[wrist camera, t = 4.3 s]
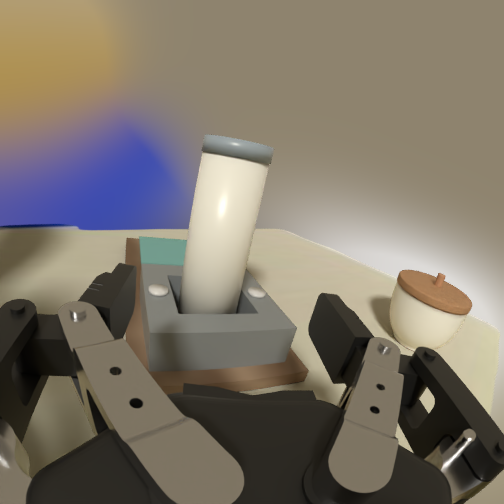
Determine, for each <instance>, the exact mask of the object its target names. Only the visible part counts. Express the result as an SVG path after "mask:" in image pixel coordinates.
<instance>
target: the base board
mask: <svg viewBox="0 0 504 504" xmlns="http://www.w3.org/2000/svg"><path fill="white" fill-rule="evenodd" d="M125 264H128V265H133V266H136V267H137V276H136V297H135V307H134V312H133V315H132V317H131V320H130V322H129V324H128V327H127V329H126V342H127V343H128V345H129V346H130V348H131V349H132V350H133V352H134V353H135V355H136V356H137V357H138V359H139V360H140V362H141V363H142V364H143V366H144V367H145V368H146V370H147V371H148V372H149V368H148V362H147V355H146V348H145V341H144V333H143V325H142V316H141V306H140V277H141V257H140V243H139V239H134V238H127V241H126V261H125ZM177 310H178V308H177ZM307 373H308V369H307V368H306V367H305V365H304V364H303V363H302V362H301V360H300V359H299V358H298V357H297V355H296V354H295V353H294V352H293V350H292V349H291V348H290V350H289V352H288V355H287V358H286V361H285V362H281V363H273V364H265V365H256V366H246V367H235V368H223V369H209V370H191V371H153V372H149V374H150V375H151V376H152V378H153V379H154V380H155V382H156V383H157V384H158V385H159V387H160V388H161V389H162V390H163V392H164V393H165V394H166V395H167V394H172V393H180V392H183V384H184V383H189V384H197V385H206V386H215V387H220V388H224V389H228V390H231V391H235V392H238V391H246V390H254V389H261V388H267V387H273V386H279V385H285V384H291V383H296V382H301V381H304V380H305V378H306V376H307Z"/></svg>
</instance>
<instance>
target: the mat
mask: <svg viewBox="0 0 504 504" xmlns="http://www.w3.org/2000/svg"><path fill="white" fill-rule="evenodd" d="M139 243H140V257H141V264H158V265H175V266H183V264H184V257H185V250H186V244H187V240H179V239H166V238H153V237H140V236H139Z"/></svg>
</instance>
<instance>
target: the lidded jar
mask: <svg viewBox="0 0 504 504" xmlns="http://www.w3.org/2000/svg"><path fill="white" fill-rule="evenodd" d="M444 279H445V275H443V274H441V273H438V276H437V278H436V277H434V276H432V275H429V274H426V273H422V272H419V271H414V270H402V271H401V272H400V273H399V275H398V278H397V283H396V286H395V288H394V291H393V294H392V298H391V302H390V310H389V317H390V323H391V326H392V329H393V335H394V337H395V339H396V340H397V341H398V342H399V343H400V344H401V345H402V346H404V347H406V348H407V349H409V350H412V351H414V352H415V350H416V348H417V347H427V348H430V349H432V350H434V349H438V348H440V347H442V346H444V345H445V344H447V343H448V342H449V341H450V340H451V339H452V338H453V337H454V336H455V334H456V333H457V332H458V330H459V329H460V327H461V326H462V324H463V322H464V320H465V318H466V316H467V314H468V313H469V311H470V310H471V307H472V302H471V300H470V299H469V298H468V297H467V295H465V294H464V293H463V292H462V291H460V290H459V289H458V288H456V287H454V286H453V285H451V284H449V283H447V282H445V281H444Z"/></svg>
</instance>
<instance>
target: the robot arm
mask: <svg viewBox="0 0 504 504" xmlns="http://www.w3.org/2000/svg"><path fill="white" fill-rule="evenodd" d="M136 276H137V267H136V266H133V265H128V264H122V263H119V264H118V265H117V266H116V268H115V269H114V270H113V272H112V273H108V272H105V273H103V274H101V275H99V276H97V277H96V278H95V280H94V281H93V282H92V284H91V285H90V286H89V287H88V288H87V290H86V291H85V292H84V294H83V295H82V296H81V297H80V299H79V300H78V301H75V302H69V303H66V304H64V305H63V306H62V307H60V309H59V311H58V314H56V315H45V314H37V311H36V306H35V305H34V303H32V302H31V301H29V300H25V299H16V300H11V301H9V302H7V303H5V304H4V305H3V306H2V307H1V308H0V504H464V503H465V502H466V501H467V500H469V499H470V498H472V497H474V496H475V495H476V494H478V493H479V492H480V491H481V490H482V489H484V488H485V487H486V486H487V485H488V484H489V483H491V482H492V481H493V480H494V479H495V478H496V476H497V475H498V474H499V473H500V472H501V471H502V470H504V434H503V433H502V432H501V430H500V429H499V428H498V426H497V425H496V424H495V422H494V421H493V420H492V418H491V417H490V416H489V414H488V413H487V412H486V410H485V409H484V408H483V407H482V405H481V404H480V403H479V402H478V400H477V399H476V398H475V397H474V395H473V394H472V393H471V392H470V390H469V389H468V388H467V387H466V385H465V384H464V383H463V382H462V381H461V379H460V378H459V377H458V376H457V375H456V373H455V372H454V371H453V370H452V369H451V368H450V366H449V365H448V364H447V363H446V362H445V361H444V359H443V358H442V357H441V356H440V355H439V354H438V353H437V352H435V351H434V350H432V349H430V348H427V347H417V348H416V350H415V352H414V354H413V355H412V356H407V355H402V354H400V349H399V348H398V346H397V345H395V344H394V343H393V342H391V341H389V340H387V339H384V338H380V337H374V336H373V335H372V333H371V332H370V331H369V330H368V328H367V327H366V326H365V325H364V324H363V322H362V321H361V320H360V319H359V317H358V316H357V315H356V313H355V312H354V311H352V310H351V309H350V308H348V307H347V306H346V305H345V303H344V302H343V301H342V300H341V298H340V297H339V296H338V295H335V294H327V293H321V294H320V295H319V297H318V299H317V302H316V305H315V308H314V311H313V314H312V317H311V320H310V323H309V336H310V338H311V340H312V342H313V344H314V346H315V348H316V350H317V352H318V354H319V356H320V358H321V360H322V362H323V364H324V366H325V368H326V370H327V372H328V374H329V376H330V378H331V380H332V382H333V384H340V383H345V384H346V388H345V390H344V392H343V394H342V396H341V399H340V401H339V403H338V405H337V406H336V405H333V404H331V403H328V402H325V401H321V400H316V398H315V395H314V393H313V391H278V392H272V393H266V394H260V395H248V394H243V393H239V392H235V391H231V390H228V389H224V388H220V387H215V386H206V385H197V384H189V383H184V384H183V392H180V393H172V394H167V395H166V394H165V393H164V392H163V390H162V389H161V388H160V387H159V385H158V384H157V383H156V382H155V380H154V379H153V378H152V376H151V375H150V374H149V372H148V371H147V370H146V368H145V367H144V366H143V364H142V363H141V362H140V360H139V359H138V357H137V356H136V355H135V353H134V352H133V350H132V349H131V348H130V346H129V345H128V343H127V342H126V340H125V339H123V337H124V334H125V332H126V329H127V327H128V324H129V322H130V320H131V317H132V315H133V312H134V307H135V297H136ZM49 376H69V377H70V380H71V382H72V385H73V387H74V389H75V392H76V394H77V396H78V398H79V401H80V403H81V405H82V407H83V409H84V411H85V413H86V416H87V418H88V421H89V423H90V426H91V428H92V431H93V433H94V435H95V437H94V438H92V439H90V440H89V441H87V442H86V443H84V444H82V445H81V446H79V447H77V448H76V449H74V450H73V451H71V452H69V453H68V454H66V455H64V456H63V457H61V458H59V459H57V460H56V461H54V462H52V463H51V464H49V465H47V466H46V467H44V468H43V469H41V470H40V471H39V472H38V473H37V474H36V475H35V476H34V477H33V479H32V478H30V475H29V467H30V460H29V456H28V454H27V452H26V450H25V449H24V447H23V446H22V441H23V438H24V435H25V433H26V430H27V427H28V425H29V422H30V419H31V417H32V414H33V412H34V409H35V407H36V404H37V402H38V400H39V397H40V395H41V393H42V390H43V388H44V386H45V384H46V381H47V379H48V377H49ZM427 387H428V389H429V390H430V391H431V393H432V394H433V396H434V398H435V405H434V407H433V409H432V410H431V412H430V413H429V414H428V412H427V410H426V409H425V407H424V406H423V404H422V403H421V401H420V400H419V398H420V397H421V395H422V394H423V392H424V391H425V389H426V388H427ZM397 423H398V424H399V426H400V428H401V429H402V431H403V433H404V435H405V437H406V439H407V441H408V443H409V445H410V447H411V448H412V450H413V452H414V453H412V452H410V451H409V450H407V449H405V448H404V447H402V446H400V445H399V444H398V439H397V438H396V437H395V434H396V428H397Z"/></svg>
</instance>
